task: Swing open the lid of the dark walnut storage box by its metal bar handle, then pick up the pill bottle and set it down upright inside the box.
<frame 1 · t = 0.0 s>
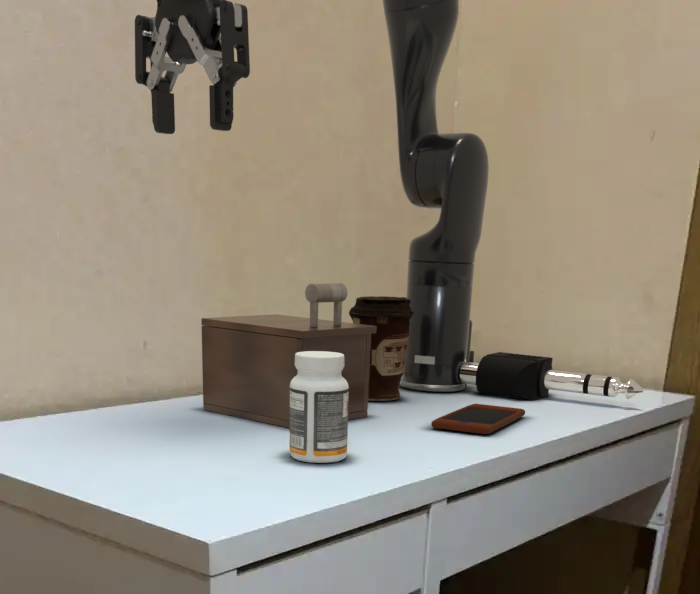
hand: (191, 131, 94), 29 cm above the table, tool pointing down, fingers open, 8 cm apart
walnut box: (285, 413, 114), on the table
lid: (288, 304, 109), point 13 cm above the table, hinge at 0.0°
coffee cup: (377, 400, 127), on the table
audio adapter: (551, 400, 132), on the table, touching arm
smartphone: (479, 423, 112), on the table
pill bottle: (317, 459, 92), on the table
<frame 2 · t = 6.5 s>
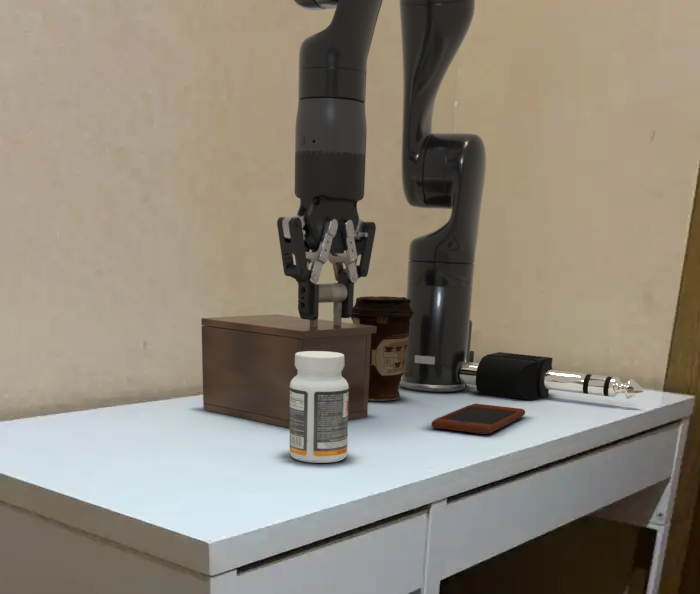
hand: (326, 317, 106), 12 cm above the table, tool pointing down, fingers closed on lid, 5 cm apart
lid: (288, 305, 109), point 13 cm above the table, hinge at -0.1°, touching gripper
everything else where it was.
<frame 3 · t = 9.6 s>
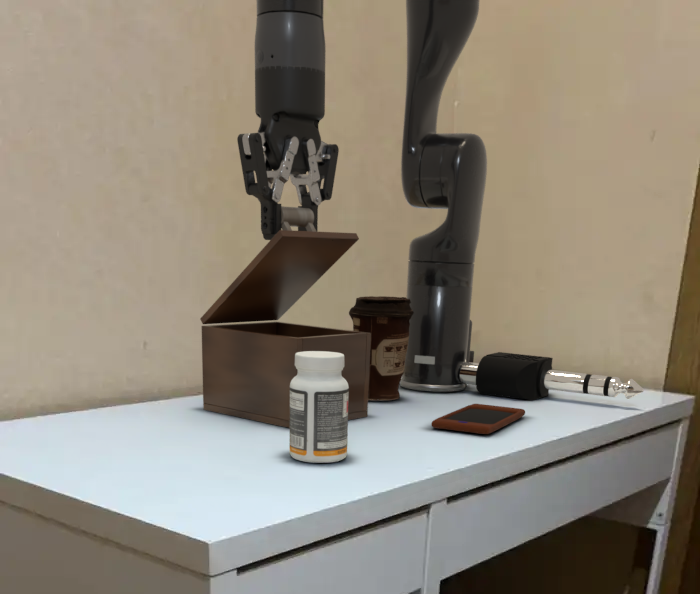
hand: (290, 239, 106), 20 cm above the table, tool pointing down, fingers closed on lid, 5 cm apart
lid: (270, 261, 109), point 17 cm above the table, hinge at 37.7°, touching gripper
everything else where it was.
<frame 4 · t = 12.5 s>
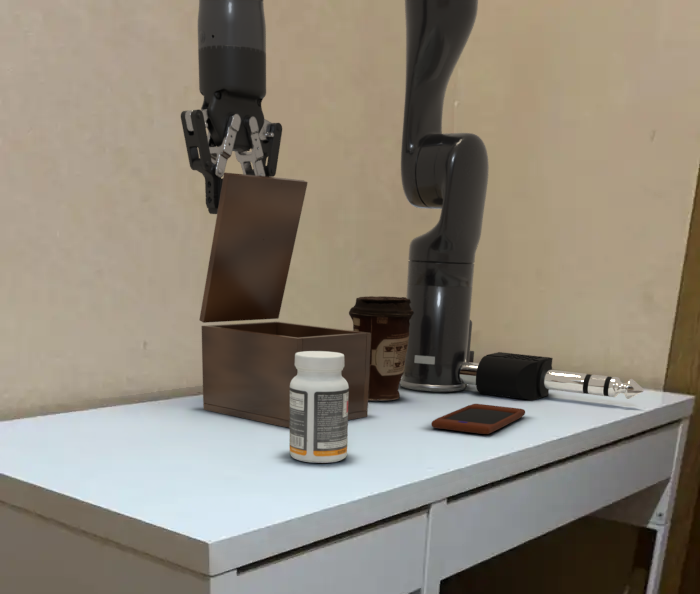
hand: (234, 214, 110), 22 cm above the table, tool pointing down, fingers closed on lid, 5 cm apart
lid: (240, 244, 111), point 19 cm above the table, hinge at 73.6°, touching gripper
everything else where it was.
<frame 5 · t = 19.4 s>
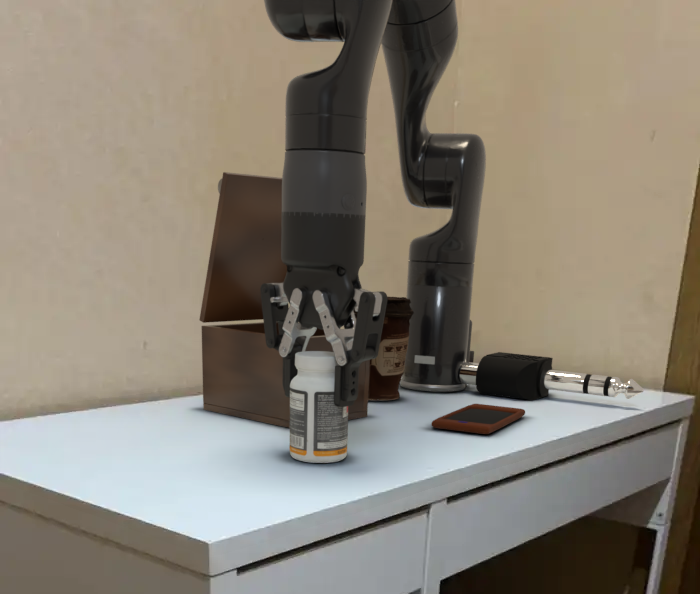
hand: (318, 400, 90), 6 cm above the table, tool pointing down, fingers closed on pill bottle, 5 cm apart
lid: (240, 244, 111), point 19 cm above the table, hinge at 74.1°
pill bottle: (317, 459, 92), on the table, touching gripper
everything else where it was.
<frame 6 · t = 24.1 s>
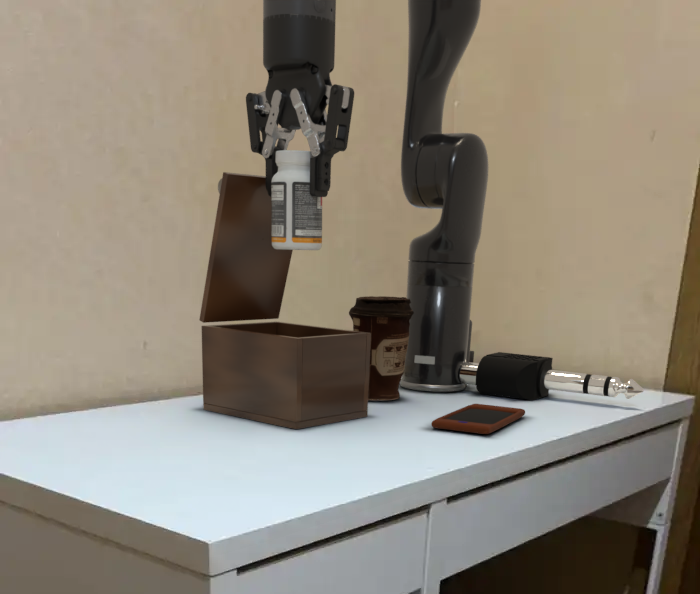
hand: (297, 196, 103), 24 cm above the table, tool pointing down, fingers closed on pill bottle, 5 cm apart
lid: (240, 244, 111), point 19 cm above the table, hinge at 74.1°, touching gripper
pill bottle: (296, 252, 105), point 18 cm above the table, touching gripper
everything else where it was.
when the fingers open (6 cm above the table, at t = 28.4 s): pill bottle stays where it is, resting on walnut box.
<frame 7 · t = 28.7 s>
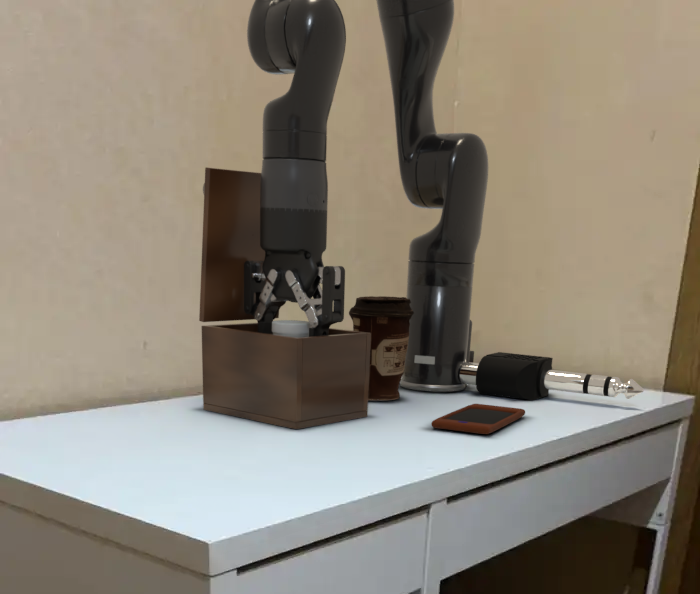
hand: (291, 357, 111), 7 cm above the table, tool pointing down, fingers open, 7 cm apart
lid: (231, 245, 112), point 19 cm above the table, hinge at 84.4°
pill bottle: (291, 409, 113), point 1 cm above the table, touching walnut box
everything else where it was.
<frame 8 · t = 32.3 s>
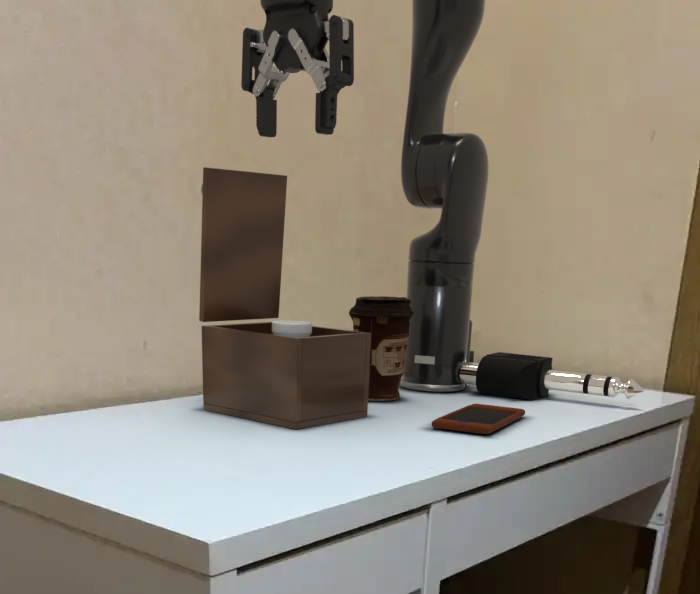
hand: (295, 135, 102), 30 cm above the table, tool pointing down, fingers open, 8 cm apart
lid: (230, 245, 112), point 19 cm above the table, hinge at 85.6°
everything else where it was.
at the end: lid at +86° (first picture: +0°); pill bottle inside the target area in the walnut box (1.0 cm from its centre), point 0.6 cm above the walnut box's base; pill bottle tilted 0° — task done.
